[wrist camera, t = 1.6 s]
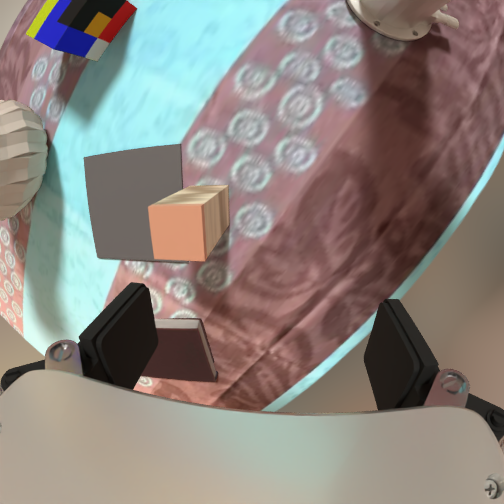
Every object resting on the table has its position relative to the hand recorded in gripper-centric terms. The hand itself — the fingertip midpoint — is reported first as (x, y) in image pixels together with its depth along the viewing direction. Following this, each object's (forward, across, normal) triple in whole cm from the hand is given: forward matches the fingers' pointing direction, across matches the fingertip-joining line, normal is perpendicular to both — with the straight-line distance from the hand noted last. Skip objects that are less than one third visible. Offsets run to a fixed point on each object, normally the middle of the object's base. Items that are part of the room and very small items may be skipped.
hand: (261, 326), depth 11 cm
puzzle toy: (+25, +27, -29) cm, 47 cm away
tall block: (+25, +8, 0) cm, 26 cm away
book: (+26, +19, +26) cm, 41 cm away
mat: (+25, +20, +1) cm, 32 cm away
